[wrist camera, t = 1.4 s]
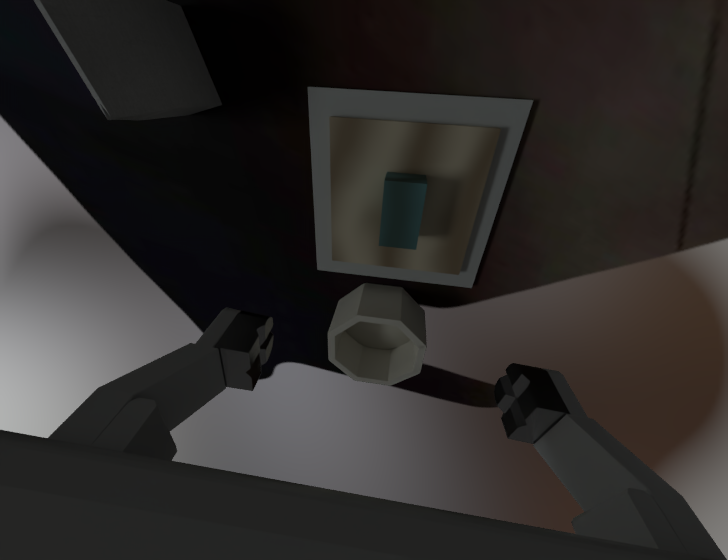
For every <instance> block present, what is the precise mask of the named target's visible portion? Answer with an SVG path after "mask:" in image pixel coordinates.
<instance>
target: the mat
mask: <svg viewBox="0 0 728 560" xmlns="http://www.w3.org/2000/svg"><path fill="white" fill-rule="evenodd" d="M308 103H309V122H310V141H311V159H312V178H313V196H314V215H315V234H316V252H317V270H324V271H333V272H341V273H350V274H358V275H367V276H375V277H383V278H392V279H400V280H409V281H417V282H426V283H434V284H443V285H451V286H459V287H468V288H472V286H473V283H474V280H475V277H476V274H477V270H478V267H479V264H480V261H481V258H482V255H483V252H484V249H485V246H486V243H487V240H488V237H489V234H490V231H491V228H492V225H493V222H494V219H495V216H496V213H497V210H498V207H499V204H500V200H501V197H502V194H503V191H504V188H505V185H506V182H507V179H508V176H509V173H510V170H511V167H512V164H513V161H514V158H515V155H516V152H517V149H518V146H519V143H520V140H521V137H522V134H523V130H524V127H525V124H526V121H527V118H528V115H529V112H530V109H531V106H532V103H533V100H522V99H506V98H489V97H472V96H455V95H439V94H422V93H405V92H388V91H372V90H355V89H338V88H321V87H308ZM330 116H337V117H352V118H366V119H381V120H395V121H410V122H424V123H439V124H453V125H468V126H483V127H497V128H501V131H500V134H499V138H498V141H497V145H496V148H495V152H494V155H493V159H492V162H491V166H490V169H489V172H488V176H487V179H486V183H485V186H484V190H483V193H482V197H481V200H480V204H479V207H478V211H477V214H476V218H475V221H474V225H473V228H472V232H471V235H470V239H469V242H468V246H467V249H466V252H465V256H464V259H463V263H462V266H461V270H460V273H459V275H454V274H446V273H437V272H428V271H420V270H411V269H402V268H393V267H385V266H376V265H367V264H359V263H350V262H341V261H333V260H332V233H331V179H330V125H329V117H330Z"/></svg>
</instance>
